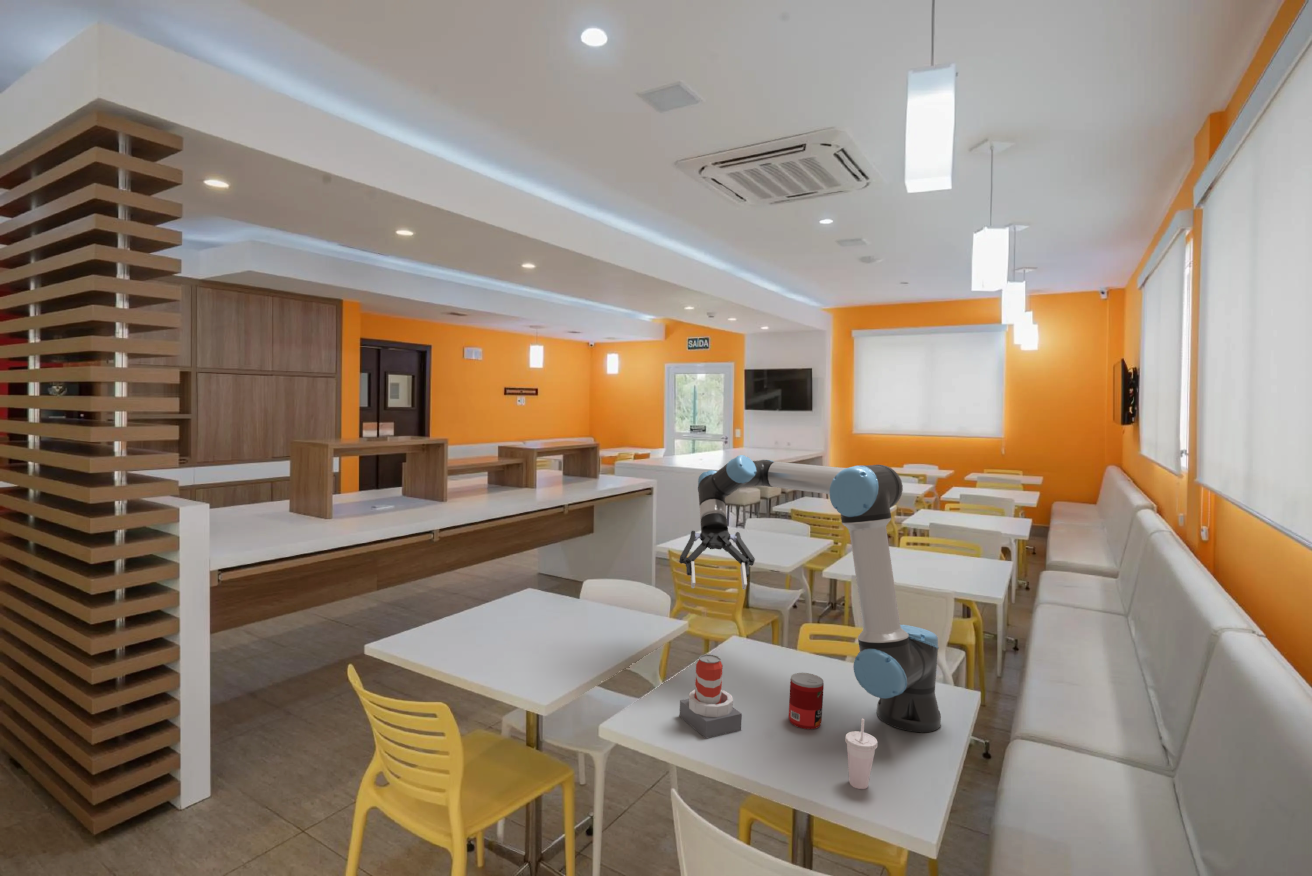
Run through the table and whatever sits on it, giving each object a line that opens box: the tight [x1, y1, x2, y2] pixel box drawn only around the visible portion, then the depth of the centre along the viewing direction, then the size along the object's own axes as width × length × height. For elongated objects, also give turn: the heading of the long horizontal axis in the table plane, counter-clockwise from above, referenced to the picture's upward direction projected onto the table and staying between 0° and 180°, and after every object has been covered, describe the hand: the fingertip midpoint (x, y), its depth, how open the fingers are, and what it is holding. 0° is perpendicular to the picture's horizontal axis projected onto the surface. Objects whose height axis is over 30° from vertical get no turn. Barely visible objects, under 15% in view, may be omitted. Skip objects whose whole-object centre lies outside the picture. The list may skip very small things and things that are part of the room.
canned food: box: [788, 672, 825, 730], centre depth 166 cm, size 8×8×11 cm
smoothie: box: [844, 718, 878, 790], centre depth 140 cm, size 6×6×14 cm
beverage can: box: [694, 654, 724, 704], centre depth 163 cm, size 6×6×12 cm
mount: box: [678, 689, 743, 739], centre depth 164 cm, size 12×10×6 cm
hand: (719, 586), depth 177 cm, fingers open, 13 cm apart
